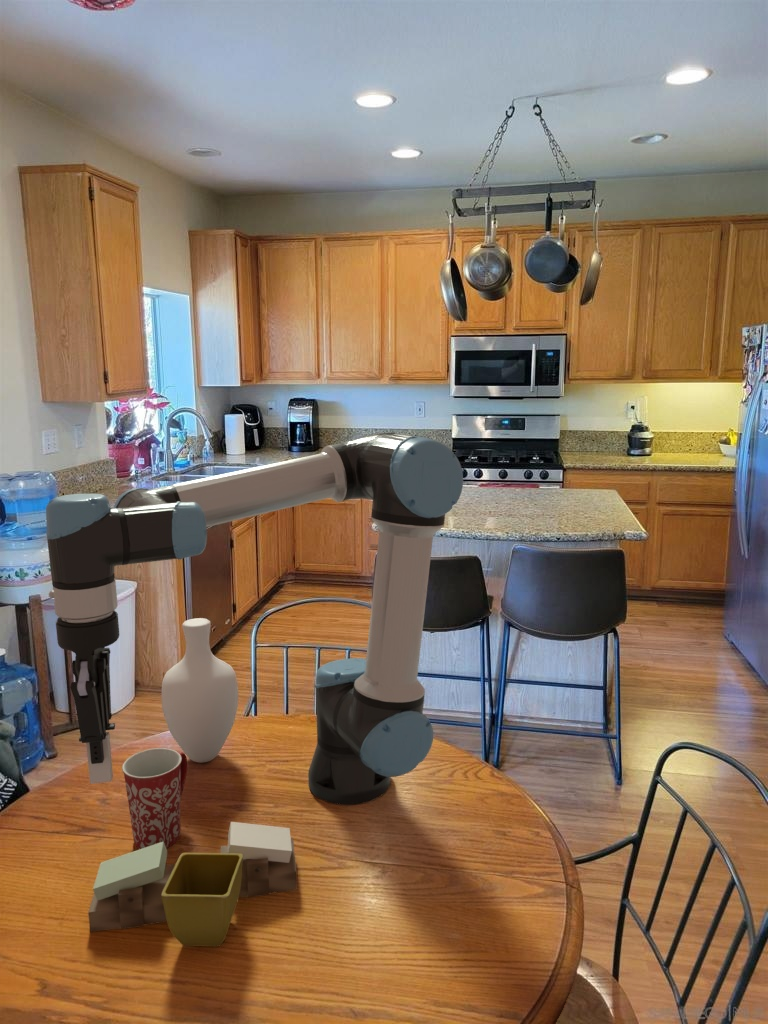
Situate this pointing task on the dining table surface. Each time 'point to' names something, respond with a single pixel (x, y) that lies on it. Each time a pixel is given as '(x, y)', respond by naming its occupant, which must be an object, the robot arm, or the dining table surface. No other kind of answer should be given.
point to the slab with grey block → (130, 906)
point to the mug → (155, 795)
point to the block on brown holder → (267, 875)
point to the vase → (199, 696)
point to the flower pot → (202, 897)
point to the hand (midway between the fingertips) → (101, 779)
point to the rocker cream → (260, 841)
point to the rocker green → (130, 870)
